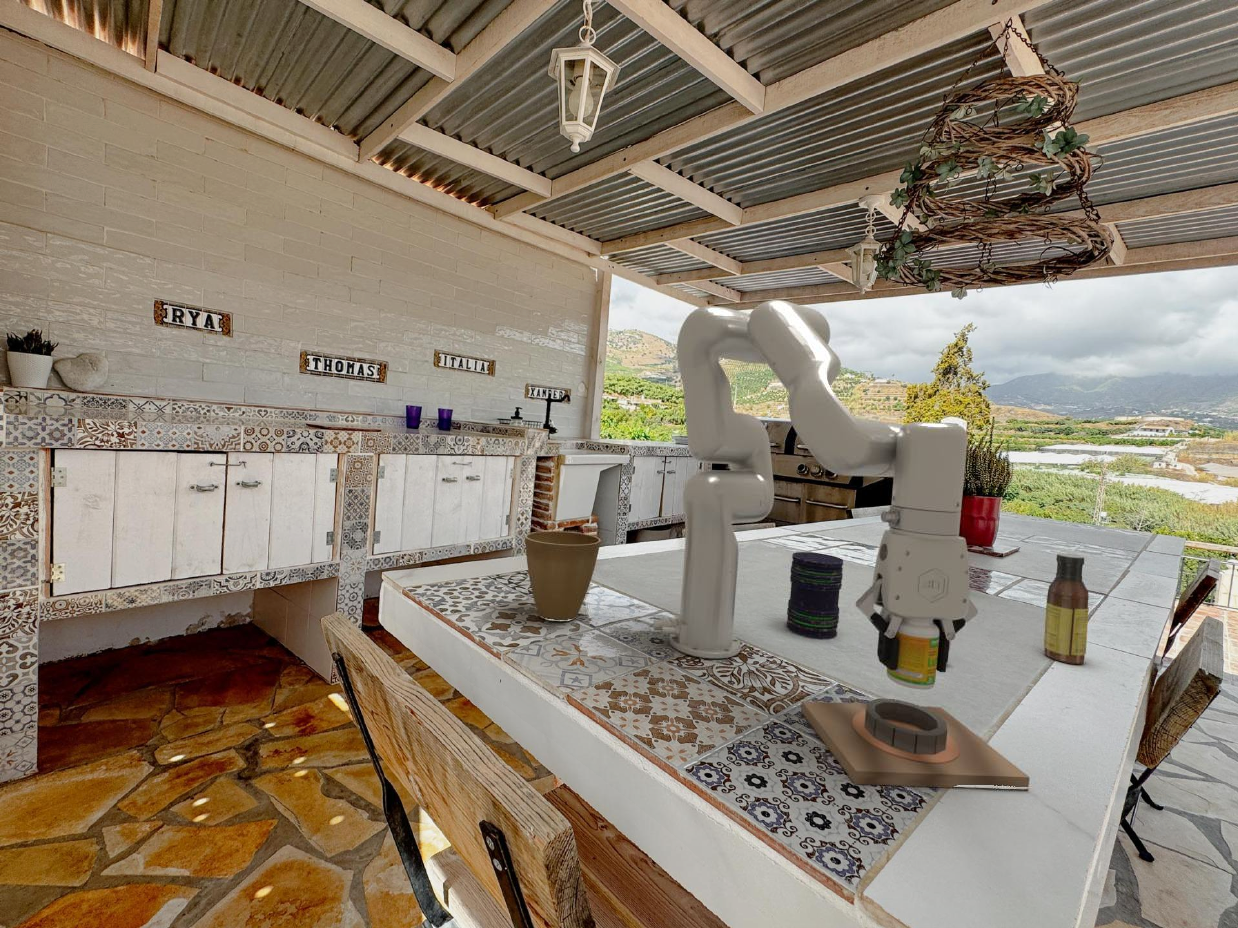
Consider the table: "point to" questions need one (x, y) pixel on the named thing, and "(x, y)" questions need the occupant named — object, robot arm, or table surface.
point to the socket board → (905, 770)
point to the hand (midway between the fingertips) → (911, 665)
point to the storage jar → (814, 595)
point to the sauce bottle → (1067, 612)
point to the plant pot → (560, 571)
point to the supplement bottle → (916, 654)
